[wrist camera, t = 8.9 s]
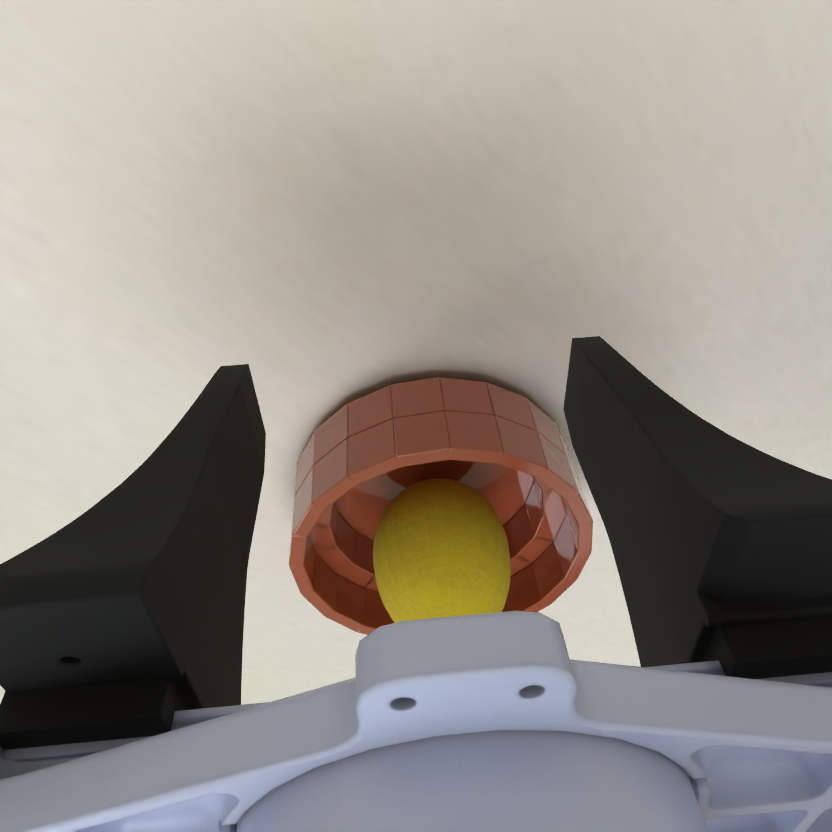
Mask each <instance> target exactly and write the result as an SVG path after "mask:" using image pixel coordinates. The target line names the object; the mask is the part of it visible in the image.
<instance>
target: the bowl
mask: <svg viewBox="0 0 832 832" xmlns="http://www.w3.org/2000/svg"><path fill="white" fill-rule="evenodd" d="M435 478H439V479H450V480H454V481H458V482H461V483H463V484H465V485H467V486H470V487H471V488H473V489H475V490H476V491H477V492H479V493H480V494H481V495H482V496H483V497H484V498H486V499H487V500H488V502H489V503H490V504H491V505H492V507H493V508H494V510H495V512H496V513H497V515H498V517H499V519H500V521H501V523H502V525H503V527H504V530H505V533H506V536H507V540H508V547H509V554H510V563H511V576H510V585H509V591H508V595H507V599H506V602H505V606H504V608H503V610H502V612H508V611H526V612H538V611H540V610H542V609H543V608H545V607H547V606H549V605H550V604H552V603H553V602H554V601H555V600H556V599H557V598H558V597H559V596H560V595H561V594H562V593H563V592H564V591H566V590H567V589H568V588H569V587H570V586H571V585H572V584H573V583H574V582H575V581H576V580H577V578H578V577H579V575H580V573H581V571H582V569H583V567H584V565H585V563H586V561H587V559H588V558H589V556H590V554H591V550H592V529H593V520H592V517H591V514H590V511H589V508H588V505H587V502H586V499H585V496H584V494H583V491H582V488H581V485H580V483H579V479H578V476H577V473H576V470H575V468H574V465H573V462H572V459H571V456H570V453H569V450H568V448H567V446H566V444H565V442H564V440H563V438H562V436H561V434H560V431H559V429H558V427H557V425H556V423H554V421H553V420H552V419H551V418H550V417H549V416H547V415H546V414H545V413H544V412H543V411H542V410H540V409H539V408H538V407H537V406H536V405H535V404H533V403H532V402H531V401H530V400H529V399H528V398H526V397H524V396H522V395H519V394H516V393H514V392H511V391H509V390H506V389H504V388H501V387H499V386H496V385H494V384H491V383H488V382H482V381H472V380H461V379H451V378H439V377H435V378H428V379H422V380H416V381H409V382H403V383H396V384H391V386H387V387H384V388H382V389H380V390H377V391H375V392H373V393H370V394H368V395H366V396H363V397H361V398H359V399H357V400H354V401H352V402H350V403H348V404H346V405H344V406H343V407H342V408H341V409H340V410H338V411H337V412H336V413H335V414H334V415H332V416H331V417H330V418H329V419H328V420H327V421H325V422H324V423H323V424H322V425H321V426H319V427H318V428H317V429H316V430H315V431H314V433H313V435H312V437H311V438H310V440H309V442H308V443H307V445H306V447H305V449H304V450H303V452H302V454H301V456H300V457H299V459H298V462H297V471H296V481H295V491H294V504H293V517H292V531H291V544H290V557H289V567H290V569H291V571H292V574H293V576H294V578H295V581H296V583H297V586H298V588H299V590H300V593H301V594H302V595H303V596H304V597H305V598H306V599H307V600H308V601H309V602H310V603H311V604H312V605H313V606H314V607H315V608H316V609H317V610H319V611H320V612H321V613H322V614H323V615H324V616H325V617H327V618H329V619H331V620H333V621H335V622H337V623H339V624H341V625H343V626H345V627H347V628H349V629H351V630H354V631H356V632H358V633H362V634H367V635H369V634H370V633H371V632H373V631H374V630H376V629H377V628H379V627H380V626H384V625H388V624H392V623H394V621H393V620H392V618H391V617H390V615H389V613H388V612H387V610H386V608H385V606H384V604H383V602H382V600H381V597H380V594H379V591H378V587H377V583H376V578H375V572H374V565H373V543H374V538H375V534H376V530H377V526H378V523H379V519H380V517H381V515H382V513H383V512H384V510H385V509H386V507H387V506H388V504H389V503H390V502H391V500H392V499H393V498H394V497H395V496H397V495H398V494H399V493H400V492H401V491H402V490H403V489H405V488H407V487H409V486H411V485H412V484H414V483H417V482H420V481H423V480H428V479H435Z"/></svg>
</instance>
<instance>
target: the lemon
mask: <svg viewBox="0 0 832 832" xmlns="http://www.w3.org/2000/svg"><path fill="white" fill-rule="evenodd" d="M373 565H374V572H375V578H376V583H377V587H378V591H379V594H380V597H381V600H382V602H383V604H384V606H385V608H386V610H387V612H388V613H389V615H390V617H391V618H392V620H393V621H394V623H397V622H401V621H408V620H419V619H430V618H441V617H452V616H463V615H474V614H485V613H496V612H502V610H503V608H504V606H505V602H506V599H507V595H508V591H509V585H510V576H511V563H510V554H509V547H508V540H507V536H506V533H505V530H504V527H503V525H502V523H501V521H500V519H499V517H498V515H497V513H496V512H495V510H494V508H493V507H492V505H491V504H490V503H489V502H488V500H487V499H486V498H484V497H483V496H482V495H481V494H480V493H479V492H477V491H476V490H475V489H473V488H471V487H470V486H467V485H465V484H463V483H461V482H458V481H454V480H450V479H439V478H435V479H428V480H423V481H420V482H417V483H414V484H412V485H411V486H409V487H407V488H405V489H403V490H402V491H401V492H400V493H399V494H398V495H397V496H395V497H394V498H393V499H392V500H391V502H390V503H389V504H388V506H387V507H386V509H385V510H384V512H383V513H382V515H381V517H380V519H379V523H378V526H377V530H376V534H375V538H374V543H373Z"/></svg>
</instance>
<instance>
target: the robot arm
mask: <svg viewBox="0 0 832 832" xmlns="http://www.w3.org/2000/svg"><path fill="white" fill-rule="evenodd" d="M564 412H565V416H566V421H567V425H568V429H569V433H570V437H571V441H572V445H573V448H574V450H575V453H576V456H577V458H578V461H579V463H580V466H581V468H582V471H583V473H584V476H585V478H586V481H587V483H588V486H589V488H590V490H591V493H592V495H593V498H594V500H595V503H596V505H597V508H598V510H599V513H600V515H601V518H602V520H603V522H604V525H605V528H606V531H607V534H608V537H609V540H610V543H611V547H612V550H613V554H614V558H615V561H616V565H617V568H618V572H619V576H620V580H621V584H622V587H623V591H624V595H625V599H626V603H627V607H628V611H629V615H630V620H631V624H632V628H633V633H634V637H635V641H636V646H637V650H638V654H639V659H640V664H641V667H636V666H626V665H617V664H608V663H598V662H589V661H579V660H570V659H569V656H568V652H567V648H566V644H565V640H564V637H563V633H562V630H561V627H560V624H559V623H558V622H556V621H554V620H553V619H551V618H549V617H547V616H545V615H543V614H541V613H539V612H526V611H508V612H496V613H485V614H474V615H463V616H452V617H441V618H430V619H419V620H408V621H401V622H397V623H392V624H388V625H384V626H380V627H379V628H377V629H376V630H374V631H373V632H371V633H370V634H369V635H367V636H366V637H364V638H363V639H362V640H360V642H359V645H358V649H357V652H356V655H355V661H356V677H355V678H352V679H348V680H345V681H342V682H338V683H335V684H331V685H328V686H324V687H321V688H317V689H314V690H311V691H307V692H304V693H300V694H297V695H293V696H290V697H286V698H283V699H280V700H276V701H273V702H267V703H257V704H246V705H241V675H242V646H243V626H244V607H245V592H246V577H247V567H248V559H249V553H250V547H251V542H252V536H253V531H254V525H255V520H256V514H257V509H258V504H259V498H260V492H261V487H262V481H263V475H264V462H265V436H266V433H265V429H264V425H263V421H262V417H261V413H260V409H259V405H258V401H257V397H256V393H255V389H254V385H253V380H252V376H251V372H250V368H249V364H245V365H233V366H221V367H220V368H219V369H218V370H217V372H216V373H215V374H214V376H213V377H212V378H211V380H210V381H209V383H208V384H207V385H206V387H205V388H204V390H203V391H202V392H201V394H200V395H199V397H198V398H197V399H196V401H195V402H194V403H193V405H192V406H191V408H190V409H189V410H188V411H187V413H186V414H185V415H184V417H183V418H182V419H181V420H180V422H179V423H178V424H177V426H176V427H175V428H174V429H173V430H172V432H171V433H170V434H169V435H168V436H167V437H166V439H165V440H164V441H163V442H162V443H161V444H160V445H159V447H158V448H157V449H156V450H155V451H154V452H153V453H152V454H151V456H150V457H149V458H148V459H147V460H146V461H145V462H144V463H143V464H142V465H141V466H140V467H139V468H138V469H137V470H136V471H135V472H133V473H132V474H131V475H130V476H129V477H128V478H127V479H126V480H125V481H124V482H123V483H121V484H120V485H119V486H118V487H117V488H115V489H114V490H113V491H112V492H110V493H109V494H108V495H107V496H105V497H104V498H103V499H102V500H101V501H99V502H98V503H97V504H96V505H94V506H93V507H92V508H91V509H89V510H88V511H86V512H85V513H84V514H82V515H81V516H79V517H78V518H77V519H75V520H74V521H72V522H71V523H69V524H68V525H66V526H65V527H63V528H62V529H60V530H59V531H57V532H56V533H54V534H53V535H51V536H50V537H48V538H46V539H45V540H43V541H41V542H40V543H38V544H36V545H34V546H33V547H31V548H29V549H27V550H26V551H24V552H22V553H20V554H19V555H17V556H15V557H13V558H11V559H10V560H8V561H6V562H4V563H2V564H0V685H1V686H2V687H3V688H4V690H5V694H4V697H3V699H2V702H1V704H0V832H832V480H831V479H828V478H825V477H822V476H819V475H816V474H813V473H811V472H808V471H806V470H803V469H801V468H798V467H796V466H793V465H791V464H788V463H786V462H783V461H781V460H779V459H776V458H774V457H772V456H770V455H767V454H765V453H763V452H761V451H759V450H757V449H755V448H753V447H751V446H749V445H747V444H745V443H743V442H741V441H739V440H737V439H736V438H734V437H732V436H730V435H728V434H726V433H725V432H723V431H721V430H720V429H718V428H716V427H715V426H713V425H712V424H710V423H708V422H707V421H705V420H703V419H702V418H700V417H699V416H697V415H696V414H694V413H693V412H691V411H690V410H688V409H687V408H686V407H684V406H683V405H681V404H680V403H679V402H677V401H676V400H674V399H673V398H672V397H670V396H669V395H668V394H667V393H665V392H664V391H663V390H661V389H660V388H659V387H658V386H656V385H655V384H654V383H653V382H651V381H650V380H649V379H648V378H647V377H645V376H644V375H643V374H642V373H641V372H640V371H638V370H637V369H636V368H635V367H634V366H633V365H631V364H630V363H629V362H628V361H627V360H626V359H625V358H624V357H622V356H621V355H620V354H619V353H618V352H617V351H616V350H615V349H613V348H612V347H611V346H610V345H609V344H608V343H607V342H606V341H604V340H603V339H602V338H601V337H600V336H597V337H584V338H572V346H571V354H570V362H569V370H568V378H567V386H566V394H565V402H564Z"/></svg>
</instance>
